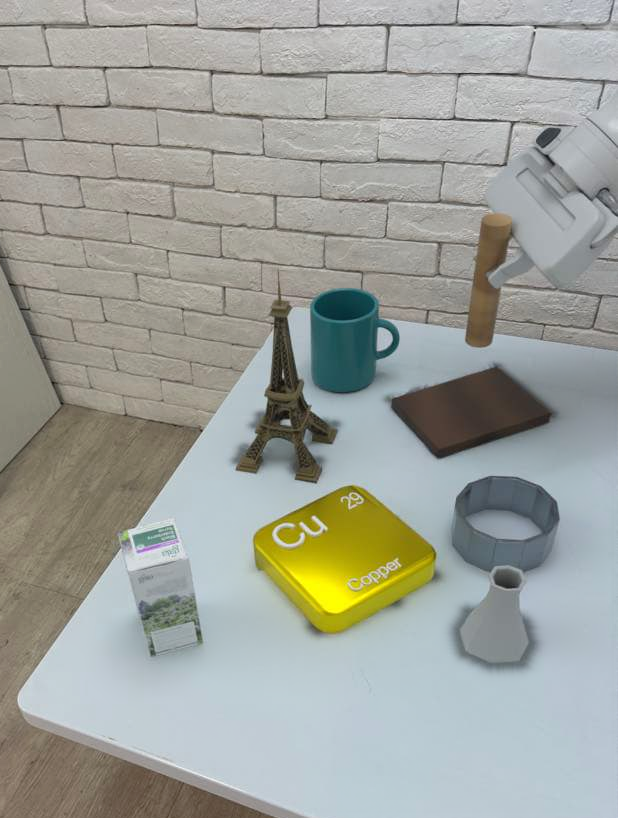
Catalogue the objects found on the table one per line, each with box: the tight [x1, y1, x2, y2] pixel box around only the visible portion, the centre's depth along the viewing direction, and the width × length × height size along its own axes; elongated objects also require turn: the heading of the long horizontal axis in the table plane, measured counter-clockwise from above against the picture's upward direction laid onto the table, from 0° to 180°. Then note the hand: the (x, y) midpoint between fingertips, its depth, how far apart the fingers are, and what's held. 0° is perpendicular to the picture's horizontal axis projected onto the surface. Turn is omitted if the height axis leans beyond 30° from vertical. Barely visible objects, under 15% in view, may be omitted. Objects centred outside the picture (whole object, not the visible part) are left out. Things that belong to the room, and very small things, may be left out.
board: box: [390, 365, 552, 459], centre depth 104 cm, size 16×12×2 cm
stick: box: [464, 212, 512, 349], centre depth 92 cm, size 3×3×15 cm
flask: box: [459, 565, 530, 664], centre depth 76 cm, size 7×7×10 cm
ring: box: [450, 475, 561, 574], centre depth 86 cm, size 10×10×6 cm
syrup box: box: [117, 517, 204, 657], centre depth 79 cm, size 6×6×14 cm
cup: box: [309, 287, 401, 393], centre depth 110 cm, size 9×12×11 cm
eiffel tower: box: [235, 268, 338, 484], centre depth 95 cm, size 11×11×25 cm
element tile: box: [252, 484, 437, 635], centre depth 86 cm, size 15×15×5 cm
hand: (483, 272), depth 91 cm, fingers closed on stick, 3 cm apart
